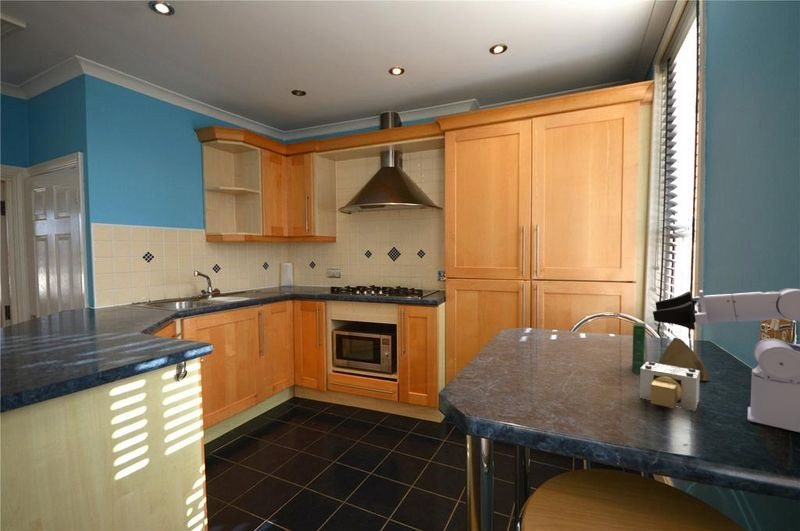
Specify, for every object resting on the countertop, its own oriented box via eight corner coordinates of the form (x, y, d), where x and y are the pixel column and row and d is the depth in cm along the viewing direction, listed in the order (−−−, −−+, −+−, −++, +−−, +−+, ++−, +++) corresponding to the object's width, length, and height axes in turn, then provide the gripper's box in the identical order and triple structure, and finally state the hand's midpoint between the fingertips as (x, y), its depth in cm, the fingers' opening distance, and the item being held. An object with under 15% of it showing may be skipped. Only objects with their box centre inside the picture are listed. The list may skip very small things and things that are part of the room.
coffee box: (633, 364, 111) (634, 320, 111) (645, 366, 109) (646, 322, 109) (631, 371, 105) (632, 325, 104) (643, 373, 103) (644, 326, 102)
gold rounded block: (656, 390, 88) (656, 367, 88) (686, 397, 84) (686, 372, 84) (646, 405, 80) (646, 379, 79) (678, 413, 76) (679, 386, 76)
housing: (698, 401, 84) (699, 368, 83) (695, 411, 78) (696, 376, 78) (646, 390, 90) (646, 360, 90) (639, 398, 85) (640, 366, 85)
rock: (723, 373, 96) (688, 357, 106) (710, 348, 95) (676, 334, 104) (690, 398, 96) (658, 379, 106) (676, 374, 94) (645, 358, 104)
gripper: (727, 281, 83) (654, 287, 91) (733, 297, 71) (649, 302, 80) (732, 311, 83) (659, 315, 92) (739, 333, 72) (655, 334, 80)
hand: (654, 311), depth 86 cm, fingers open, 7 cm apart
